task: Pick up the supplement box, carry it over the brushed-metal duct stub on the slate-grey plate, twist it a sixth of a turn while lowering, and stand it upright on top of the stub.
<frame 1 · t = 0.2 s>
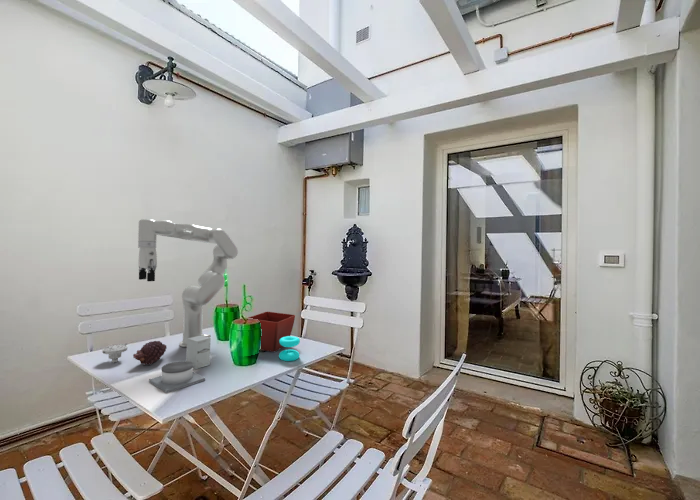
hand: (146, 280, 163), 37 cm above the table, tool pointing down, fingers open, 9 cm apart
showerhead: (115, 361, 154), on the table
donuts: (289, 358, 165), on the table
supplement box: (198, 366, 152), on the table
plant pot: (270, 347, 181), on the table
pine cone: (152, 363, 153), on the table
duct stub: (177, 381, 135), on the table
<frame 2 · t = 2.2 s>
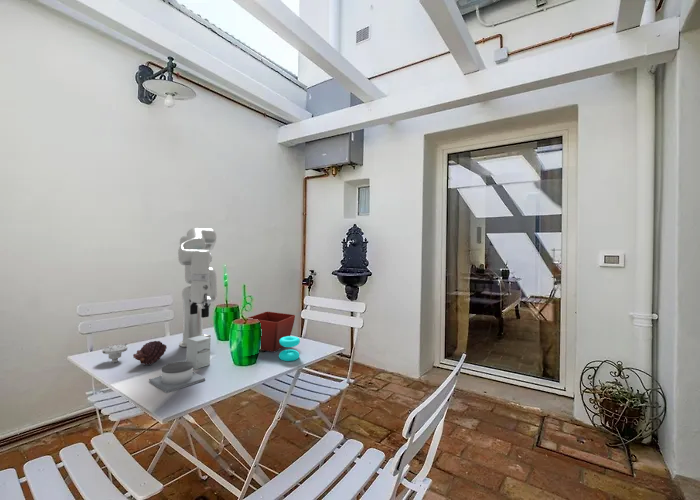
hand: (199, 315, 151), 23 cm above the table, tool pointing down, fingers open, 9 cm apart
nothing on the table moved.
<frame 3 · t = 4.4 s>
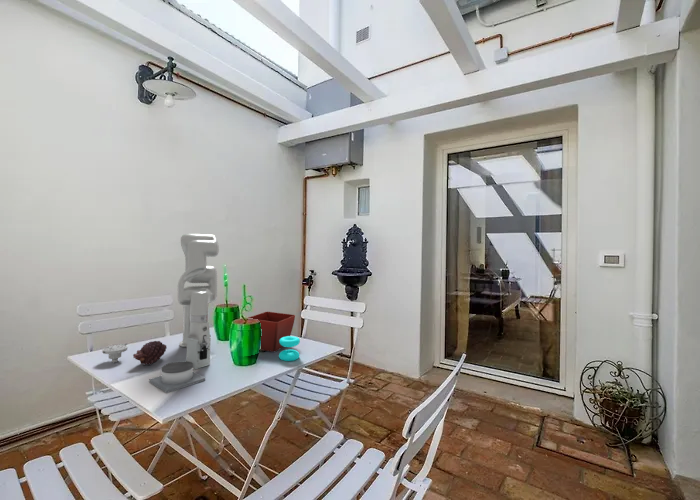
hand: (198, 356, 152), 4 cm above the table, tool pointing down, fingers closed on supplement box, 7 cm apart
supplement box: (198, 365, 152), on the table, touching gripper
everything else where it was.
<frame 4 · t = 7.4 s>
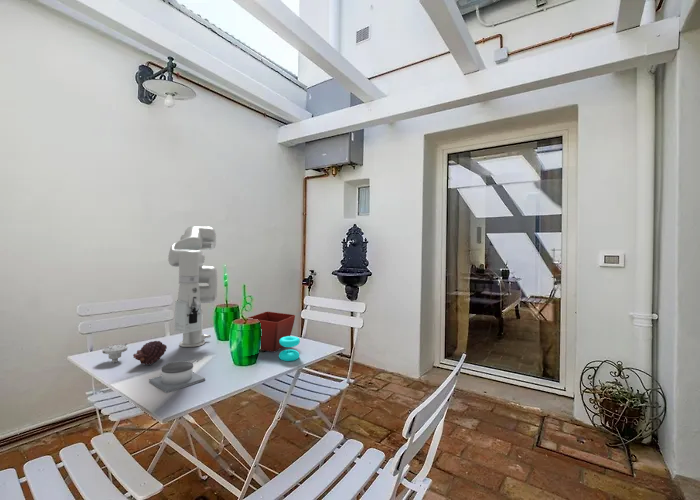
hand: (187, 321, 141), 23 cm above the table, tool pointing down, fingers closed on supplement box, 7 cm apart
supplement box: (187, 331, 141), point 18 cm above the table, touching gripper
everything else where it was.
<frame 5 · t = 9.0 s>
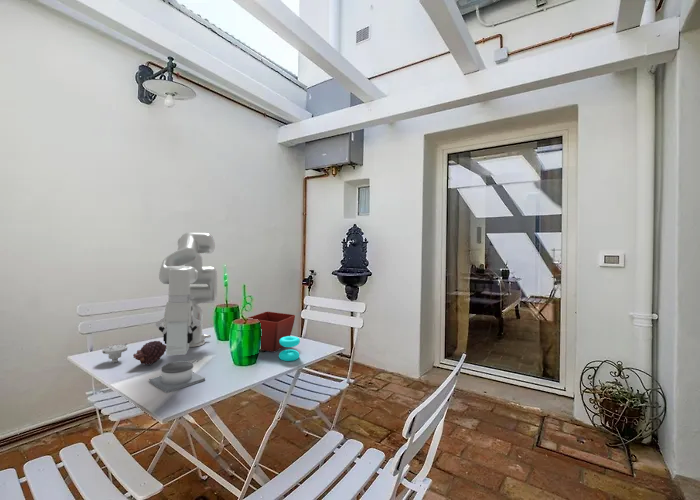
hand: (178, 342, 134), 16 cm above the table, tool pointing down, fingers closed on supplement box, 7 cm apart
supplement box: (177, 352, 134), point 11 cm above the table, touching gripper
everything else where it was.
when the fingers open (12 cm above the table, at t = 10.5 s): supplement box drops 2 cm, resting on duct stub.
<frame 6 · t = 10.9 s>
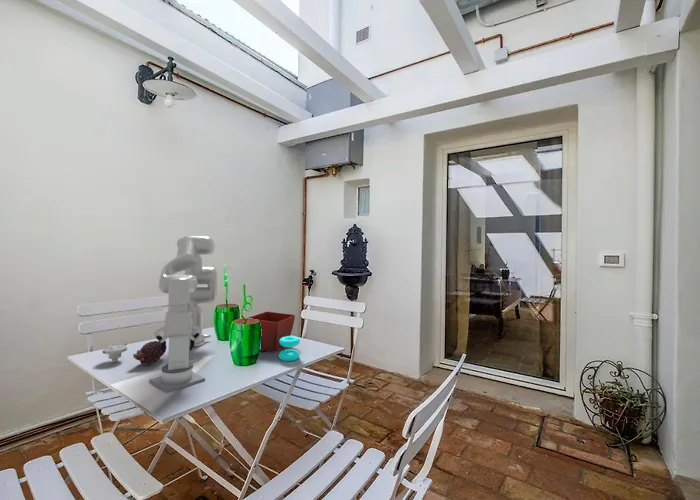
hand: (178, 350, 135), 12 cm above the table, tool pointing down, fingers open, 9 cm apart
supplement box: (178, 366, 135), point 6 cm above the table, touching duct stub
everything else where it was.
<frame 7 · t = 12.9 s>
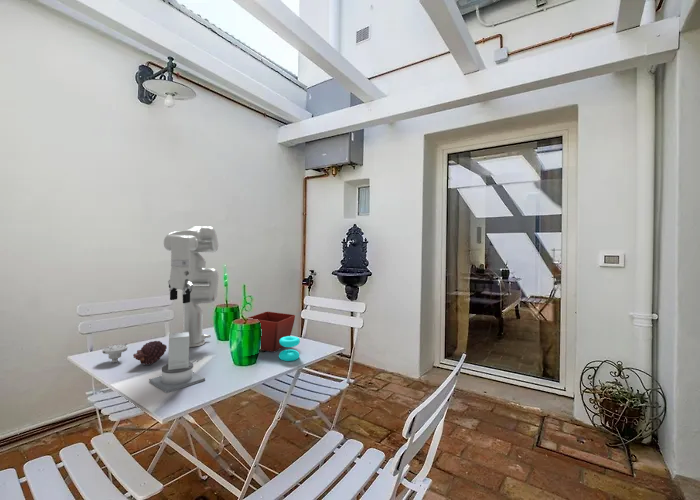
hand: (179, 301, 152), 29 cm above the table, tool pointing down, fingers open, 9 cm apart
nothing on the table moved.
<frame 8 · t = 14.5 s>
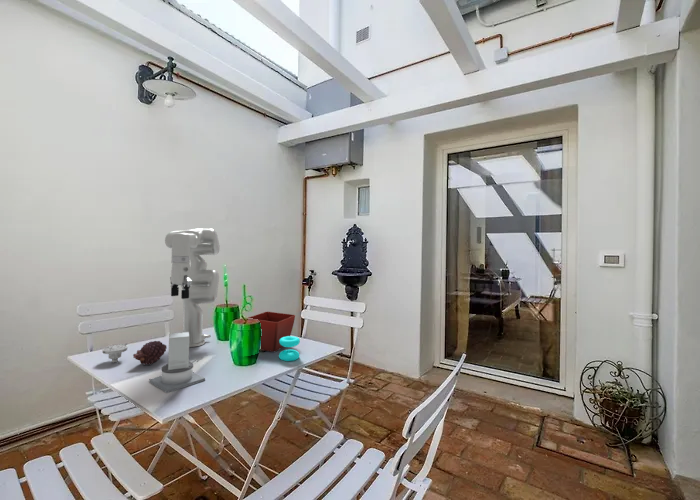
hand: (179, 297, 154), 30 cm above the table, tool pointing down, fingers open, 9 cm apart
nothing on the table moved.
at the end: supplement box inside the target area on the duct stub (0.3 cm from its centre), point 5.8 cm above the duct stub's base; supplement box tilted 0°; the gripper is holding nothing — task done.
